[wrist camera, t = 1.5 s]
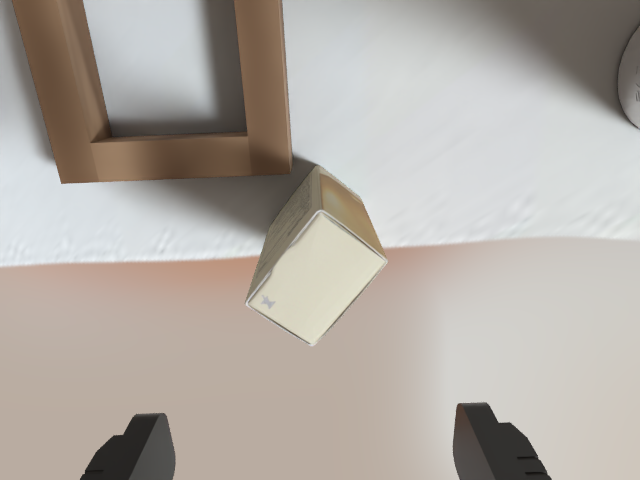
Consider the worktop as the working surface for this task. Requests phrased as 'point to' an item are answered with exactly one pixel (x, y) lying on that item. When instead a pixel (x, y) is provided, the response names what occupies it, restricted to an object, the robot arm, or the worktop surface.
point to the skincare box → (315, 258)
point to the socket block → (156, 150)
